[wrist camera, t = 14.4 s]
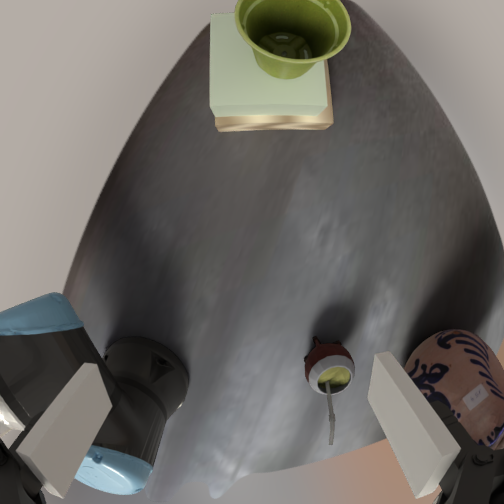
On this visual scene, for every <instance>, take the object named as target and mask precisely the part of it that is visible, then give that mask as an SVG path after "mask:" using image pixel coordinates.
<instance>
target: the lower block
mask: <svg viewBox="0 0 504 504" xmlns="http://www.w3.org/2000/svg"><path fill="white" fill-rule="evenodd" d="M324 68H325V79H326V91H327V105H328V106H327V107H326V108H325V109H324V110H323V111H322V112H321V113H320V114H319V115H318V116H293V115H254V116H226V117H215V126H216V127H217V129H218V131H219V132H227V131H244V130H272V129H317V130H325V129H326V128H328V127H329V126H330V125H332V124H333V111H332V100H331V90H330V80H329V71H328V63H327V59H326V60H324Z"/></svg>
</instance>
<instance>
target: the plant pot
mask: <svg viewBox="0 0 504 504" xmlns="http://www.w3.org/2000/svg"><path fill="white" fill-rule="evenodd" d="M234 18H235V24H236V27H237V30H238V32H239V33H240V35H241V36H242V38H243V39H244V40H245V41H246V42H247V44H249V45H250V46H251V47H252V50H253V53H254V56H255V59H256V62H257V64H258V66H259V67H260V68H261V69H262V70H263V71H265V72H266V73H267V74H269V75H270V76H272V77H275V78H279V79H294V78H298V77H300V76H302V75H303V74H305V73H306V72H307V71H308V70H310V69H311V68H312V67H313V66H314V65H315V64H316V63H317V62H320V61H323V60H326V59H328V58H330V57H332V56H334V55H335V54H337V53H338V52H339V51H340V50H341V49H342V48H343V47H344V46H345V45H346V43H347V41H348V40H349V37H350V33H351V22H350V18H349V15H348V12H347V11H346V9H345V7H344V5H343V4H342V3H341V2H340V0H238V2H237V5H236V7H235V12H234ZM277 36H287V37H289V38H288V39H284V38H279V39H277V38H276V37H277ZM304 50H306V51H307V55H308V59H305V53H304ZM282 52H286V53H287V55H286V56H283V55H282Z"/></svg>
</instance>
